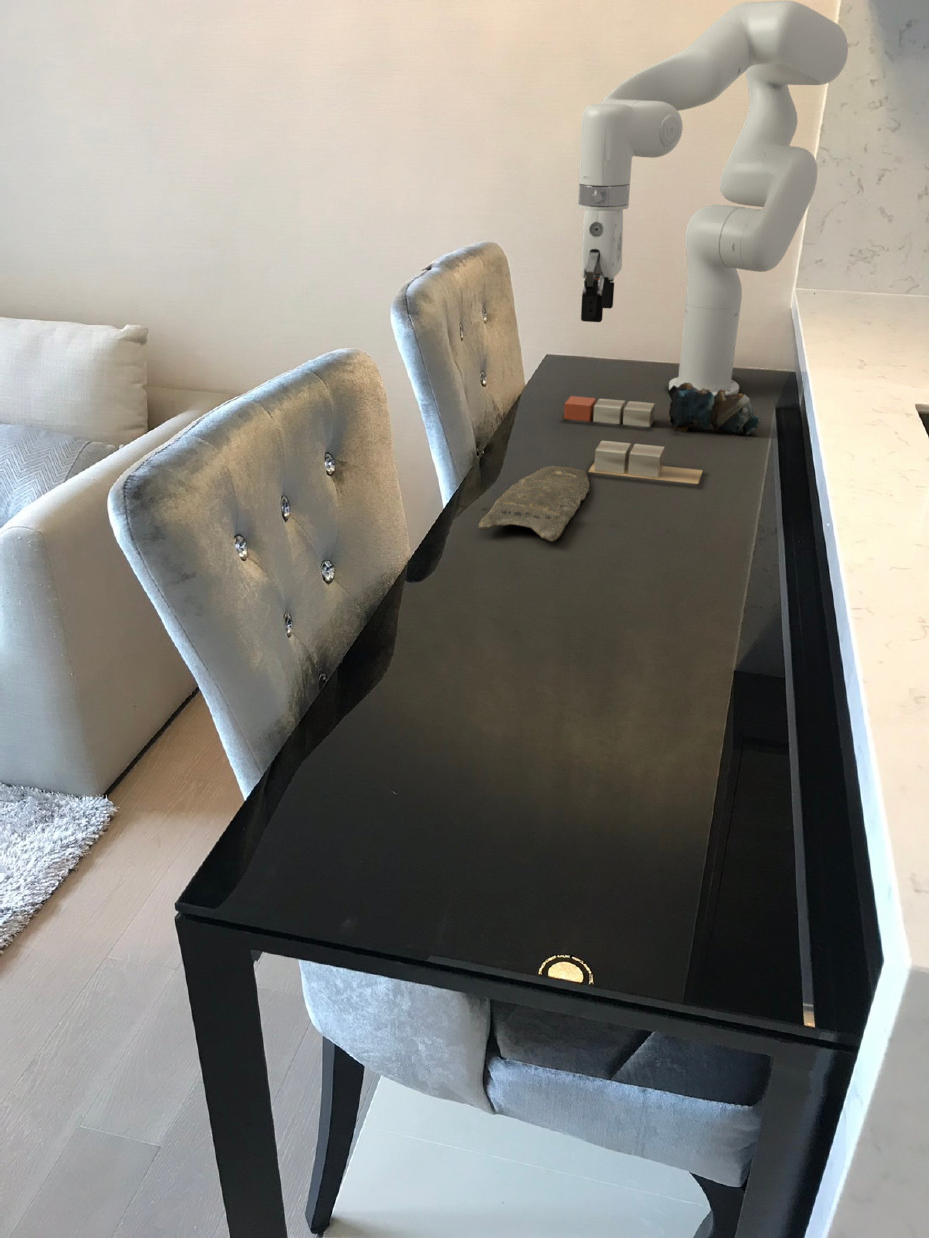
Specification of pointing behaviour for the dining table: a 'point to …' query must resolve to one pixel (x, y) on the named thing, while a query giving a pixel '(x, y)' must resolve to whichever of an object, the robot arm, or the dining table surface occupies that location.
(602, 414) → the beige grey short block
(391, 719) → the dining table surface
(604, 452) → the pale grey block
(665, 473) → the board
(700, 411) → the blue brown rough lump
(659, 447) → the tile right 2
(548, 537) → the stone tool
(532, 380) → the dining table surface
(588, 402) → the orange block
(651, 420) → the pale grey block
